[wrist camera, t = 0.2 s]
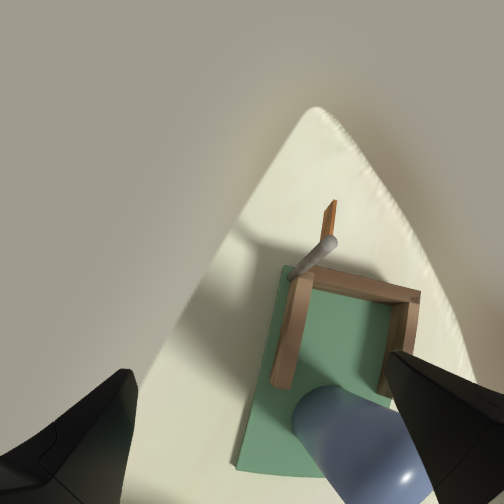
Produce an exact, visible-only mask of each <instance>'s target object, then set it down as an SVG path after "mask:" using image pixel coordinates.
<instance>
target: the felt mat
mask: <svg viewBox="0 0 504 504" xmlns="http://www.w3.org/2000/svg"><path fill="white" fill-rule="evenodd" d="M292 269H294V267H290V266H285V265H284V266H283V270H282V275H281V280H280V285H279V289H278V294H277V299H276V303H275V308H274V313H273V317H272V322H271V326H270V331H269V335H268V340H267V344H266V348H265V353H264V357H263V361H262V366H261V370H260V374H259V378H258V382H257V387H256V391H255V395H254V399H253V403H252V407H251V411H250V415H249V419H248V423H247V426H246V430H245V434H244V438H243V442H242V445H241V449H240V453H239V457H238V460H237V464H236V470H239V471H245V472H252V473H260V474H268V475H279V476H292V477H314V478H326V477H325V476H324V474H323V473H322V472H321V470H320V469H319V468H318V466H317V465H316V463H315V462H314V461H313V459H312V458H311V456H310V455H309V454H308V452H307V451H306V449H305V448H304V446H303V445H302V444H301V442H300V441H299V439H298V438H297V436H296V435H295V433H294V431H293V428H292V415H293V412H294V409H295V407H296V405H297V404H298V402H299V401H300V400H301V398H302V397H303V396H304V395H306V394H307V393H308V392H310V391H312V390H314V389H316V388H318V387H322V386H337V387H341V388H343V389H345V390H347V391H349V392H352V393H354V394H356V395H358V396H361V397H363V398H365V399H368V400H370V401H372V402H375V403H377V404H379V405H382V406H384V407H387V408H389V407H390V403H391V399H390V398H387V397H384V396H381V395H378V394H376V390H377V386H378V382H379V378H380V373H381V368H382V363H383V358H384V353H385V348H386V342H387V336H388V330H389V324H390V317H391V310H392V306H390V305H385V304H380V303H375V302H371V301H366V300H361V299H356V298H352V297H347V296H343V295H338V294H333V293H329V292H324V291H320V290H315V289H312V291H311V297H310V302H309V307H308V312H307V317H306V322H305V327H304V332H303V337H302V341H301V346H300V351H299V355H298V360H297V364H296V368H295V373H294V377H293V381H292V385H291V389H290V390H286V389H280V388H274V386H273V385H272V384H271V383H270V382H269V378H270V374H271V369H272V365H273V361H274V357H275V352H276V348H277V343H278V339H279V334H280V330H281V325H282V321H283V316H284V311H285V307H286V302H287V297H288V292H289V287H290V281H289V280H288V279H287V275H288V273H289V272H290V271H291V270H292Z"/></svg>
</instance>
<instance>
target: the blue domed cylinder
mask: <svg viewBox="0 0 504 504" xmlns="http://www.w3.org/2000/svg"><path fill="white" fill-rule="evenodd" d="M292 428H293V431H294V433H295V435H296V436H297V438H298V439H299V441H300V442H301V444H302V445H303V446H304V448H305V449H306V451H307V452H308V454H309V455H310V456H311V458H312V459H313V461H314V462H315V463H316V465H317V466H318V468H319V469H320V470H321V472H322V473H323V474H324V476H325V477H326V479H327V480H328V481H329V483H330V484H331V485H332V487H333V488H334V489H335V491H336V492H337V493H338V494H339V496H340V497H341V498H342V500H343V501H344V502H345V504H420V503H421V502H422V501H423V500H424V499H425V498H426V497H427V496H428V495H429V494H430V493H431V492H432V490H433V487H432V485H431V482H430V480H429V477H428V475H427V473H426V470H425V468H424V466H423V463H422V461H421V459H420V456H419V454H418V452H417V450H416V447H415V445H414V443H413V441H412V439H411V436H410V434H409V432H408V430H407V428H406V426H405V424H404V422H403V419H402V417H401V415H400V413H399V412H396V411H394V410H391V409H389V408H387V407H384V406H382V405H379V404H377V403H375V402H372V401H370V400H368V399H365V398H363V397H361V396H358V395H356V394H354V393H352V392H349V391H347V390H345V389H343V388H341V387H337V386H322V387H318V388H316V389H314V390H312V391H310V392H308V393H307V394H306V395H304V396H303V397H302V398H301V400H300V401H299V402H298V404H297V405H296V407H295V409H294V412H293V415H292Z"/></svg>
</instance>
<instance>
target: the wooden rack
mask: <svg viewBox="0 0 504 504" xmlns="http://www.w3.org/2000/svg"><path fill="white" fill-rule="evenodd" d="M336 205H337V200H333V201H332V202H331V204H330V205H329V206H328V208H327V209H326V210H325V211H324V217H323V224H322V231H321V238H320V242H319V243H318V245H317V246H316V247H315V248H314V249H313V250H312V251H311V252H310V253H309V254H308V255H307V256H306V257H305V258H304V259H303V260H302V261H301V262H300V263H299V264H298V265H297V266H296V267H295V268H294V269H292V270H291V271H290V272H289V273H288V275H287V279H288V280H289V281H290V287H289V292H288V297H287V302H286V307H285V311H284V316H283V321H282V325H281V330H280V334H279V339H278V343H277V348H276V352H275V357H274V361H273V365H272V369H271V374H270V378H269V382H270V383H271V384H272V385H273V386H274V388H280V389H286V390H290V389H291V385H292V381H293V377H294V373H295V368H296V364H297V360H298V355H299V351H300V346H301V341H302V337H303V332H304V327H305V322H306V317H307V312H308V307H309V302H310V297H311V291H312V289H315V290H320V291H324V292H329V293H333V294H338V295H343V296H347V297H352V298H356V299H361V300H366V301H371V302H375V303H380V304H385V305H390V306H392V310H391V317H390V324H389V330H388V336H387V342H386V348H385V353H384V358H383V363H382V368H381V373H380V378H379V382H378V386H377V390H376V394H378V395H381V396H384V397H387V398H390V399H393V396H392V393H391V391H390V388H389V385H388V382H387V380H386V377H385V374H384V367H385V364H386V361H387V358H388V355H389V353H390V352H391V351H394V350H402V351H405V352H407V353H409V354H411V355H413V350H414V344H415V337H416V330H417V323H418V315H419V306H420V295H421V291H419V290H414V289H410V288H406V287H402V286H398V285H394V284H390V283H385V282H381V281H377V280H373V279H369V278H365V277H361V276H356V275H352V274H348V273H344V272H340V271H336V270H332V269H327V268H323V267H319V266H315V264H316V263H317V262H319V261H320V260H321V259H322V258H323V257H325V256H326V255H327V254H328V253H330V252H331V251H332V250H333V249H335V248H336V247H337V244H338V242H337V239H336V237H334V236H333V230H334V222H335V213H336Z"/></svg>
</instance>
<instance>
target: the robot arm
mask: <svg viewBox="0 0 504 504" xmlns="http://www.w3.org/2000/svg"><path fill="white" fill-rule="evenodd" d="M384 374H385V377H386V380H387V382H388V385H389V388H390V391H391V393H392V396H393V399H394V402H395V404H396V407H397V409H398V411H399V413H400V415H401V417H402V419H403V422H404V424H405V426H406V428H407V430H408V432H409V434H410V436H411V439H412V441H413V443H414V445H415V447H416V450H417V452H418V454H419V456H420V459H421V461H422V463H423V466H424V468H425V470H426V473H427V475H428V477H429V480H430V482H431V485H432V487H433V489H434V492H435V495H436V497H437V500H438V502H439V504H504V394H501V393H498V392H495V391H492V390H490V389H487V388H484V387H482V386H480V385H478V384H475V383H472V382H471V381H468V380H466V379H464V378H462V377H459V376H457V375H455V374H453V373H450V372H448V371H446V370H444V369H442V368H439V367H437V366H435V365H433V364H431V363H428V362H426V361H424V360H422V359H420V358H417V357H415V356H413V355H411V354H409V353H407V352H405V351H402V350H394V351H391V352H390V353H389V355H388V358H387V361H386V364H385V367H384ZM137 399H138V386H137V383H136V380H135V377H134V373H133V371H132V370H130V369H119V370H118V371H116V372H115V373H114V374H113V375H112V376H110V377H109V378H108V379H106V380H105V381H104V382H103V383H101V384H100V385H99V386H98V387H96V388H95V389H94V390H93V391H91V392H90V393H89V394H88V395H87V396H85V397H84V398H83V399H81V400H80V401H79V402H77V403H76V404H75V405H74V406H72V407H71V408H70V409H69V410H67V411H66V412H65V413H64V414H62V415H61V416H60V417H58V418H57V419H56V420H55V422H52V423H51V424H49V425H48V426H47V427H46V428H44V429H43V430H42V431H40V432H39V433H37V434H36V435H35V436H33V437H32V438H30V439H28V440H27V441H25V442H24V443H22V444H20V445H19V446H17V447H15V448H14V449H12V450H10V451H9V452H7V453H5V454H4V455H2V456H0V504H120V498H121V492H122V486H123V481H124V475H125V470H126V465H127V460H128V455H129V451H130V446H131V441H132V437H133V432H134V426H135V416H136V407H137Z"/></svg>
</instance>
